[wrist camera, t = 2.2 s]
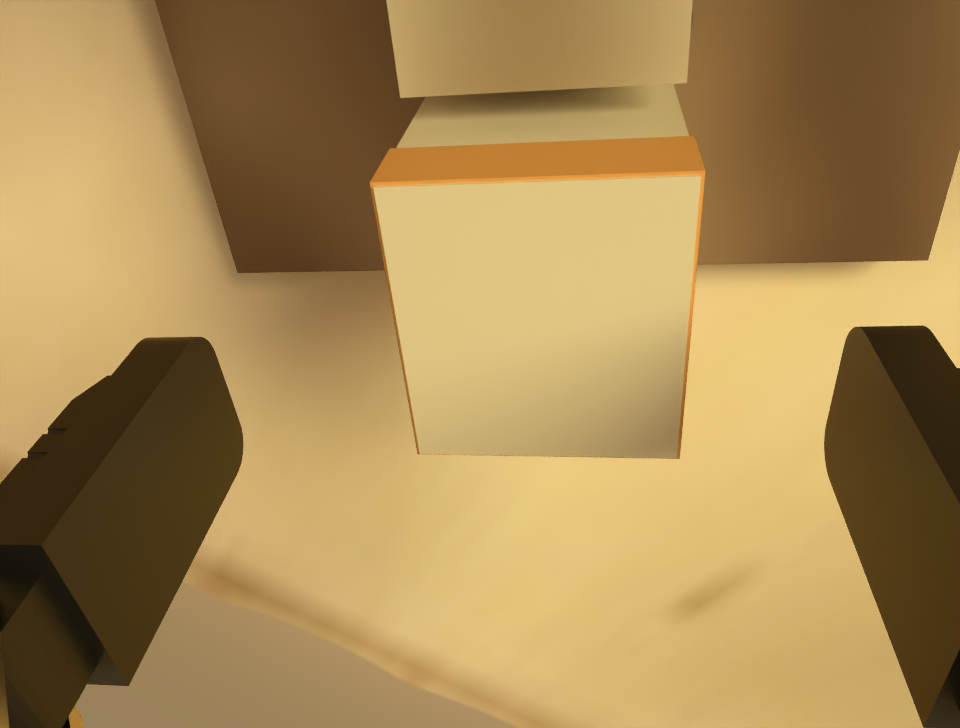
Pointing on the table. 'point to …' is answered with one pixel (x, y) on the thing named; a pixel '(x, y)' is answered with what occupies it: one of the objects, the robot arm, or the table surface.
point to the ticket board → (749, 101)
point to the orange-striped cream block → (544, 270)
